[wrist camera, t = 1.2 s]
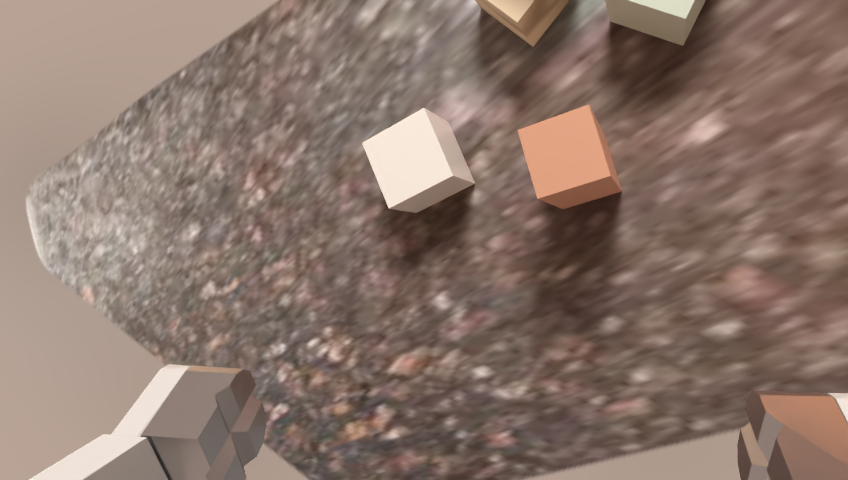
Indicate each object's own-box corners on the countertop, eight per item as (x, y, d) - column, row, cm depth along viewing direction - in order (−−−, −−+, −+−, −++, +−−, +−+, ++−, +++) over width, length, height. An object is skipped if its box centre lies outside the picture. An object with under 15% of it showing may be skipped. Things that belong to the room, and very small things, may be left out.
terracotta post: (604, 134, 41) (589, 104, 33) (622, 191, 40) (610, 175, 32) (546, 154, 42) (517, 130, 34) (562, 209, 42) (537, 198, 33)
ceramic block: (448, 122, 45) (424, 107, 40) (475, 183, 44) (453, 175, 40) (392, 153, 47) (362, 142, 42) (416, 213, 46) (388, 208, 41)
